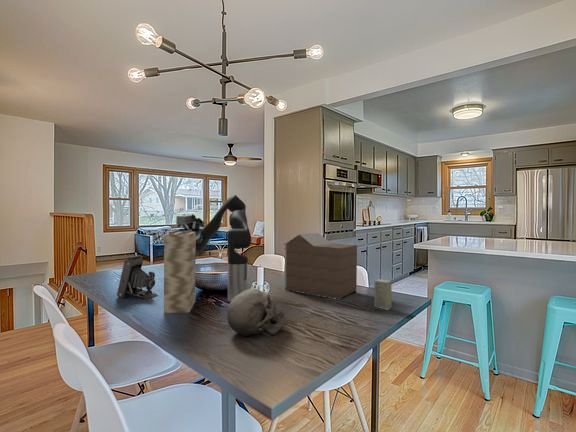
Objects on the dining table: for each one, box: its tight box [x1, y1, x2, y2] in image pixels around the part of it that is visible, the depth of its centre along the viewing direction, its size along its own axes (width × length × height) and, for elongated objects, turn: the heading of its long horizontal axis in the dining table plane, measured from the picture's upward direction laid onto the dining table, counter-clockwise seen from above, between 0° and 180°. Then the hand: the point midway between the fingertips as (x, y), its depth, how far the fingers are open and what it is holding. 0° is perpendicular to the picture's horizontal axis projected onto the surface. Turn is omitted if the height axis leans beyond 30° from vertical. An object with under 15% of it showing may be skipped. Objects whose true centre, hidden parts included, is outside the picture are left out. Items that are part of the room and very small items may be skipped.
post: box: [163, 229, 197, 314], centre depth 137 cm, size 10×16×33 cm, turn 8°
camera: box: [116, 254, 159, 301], centre depth 153 cm, size 11×17×20 cm, turn 79°
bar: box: [175, 214, 193, 225], centre depth 149 cm, size 4×26×4 cm, turn 8°
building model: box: [283, 232, 358, 300], centre depth 168 cm, size 19×34×30 cm, turn 54°
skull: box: [226, 287, 288, 337], centre depth 109 cm, size 13×16×20 cm
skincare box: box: [373, 278, 393, 309], centre depth 139 cm, size 6×4×12 cm
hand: (188, 215), depth 155 cm, fingers closed on bar, 3 cm apart
